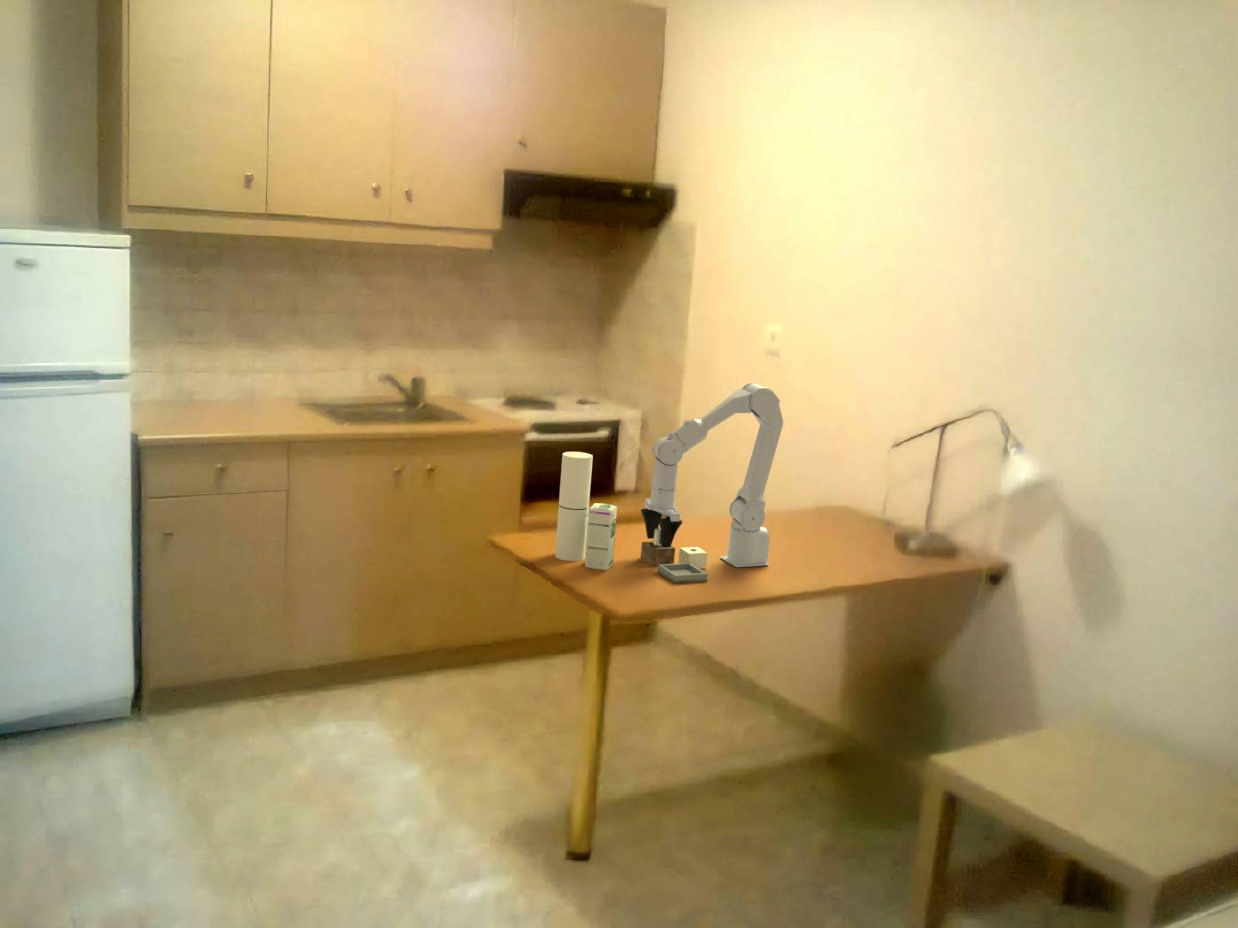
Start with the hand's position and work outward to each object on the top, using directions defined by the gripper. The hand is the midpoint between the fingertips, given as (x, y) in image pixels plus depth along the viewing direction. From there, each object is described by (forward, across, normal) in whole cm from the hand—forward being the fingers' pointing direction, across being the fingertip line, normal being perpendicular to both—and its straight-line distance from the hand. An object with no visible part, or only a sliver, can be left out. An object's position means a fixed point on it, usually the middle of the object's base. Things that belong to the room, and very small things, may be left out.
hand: (658, 542), depth 259 cm
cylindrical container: (+5, -7, -20) cm, 22 cm away
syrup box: (+5, +1, -16) cm, 17 cm away
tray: (+5, +12, 0) cm, 13 cm away
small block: (+5, +5, +7) cm, 10 cm away
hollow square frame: (+5, 0, 0) cm, 5 cm away
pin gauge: (+5, 0, 0) cm, 5 cm away
